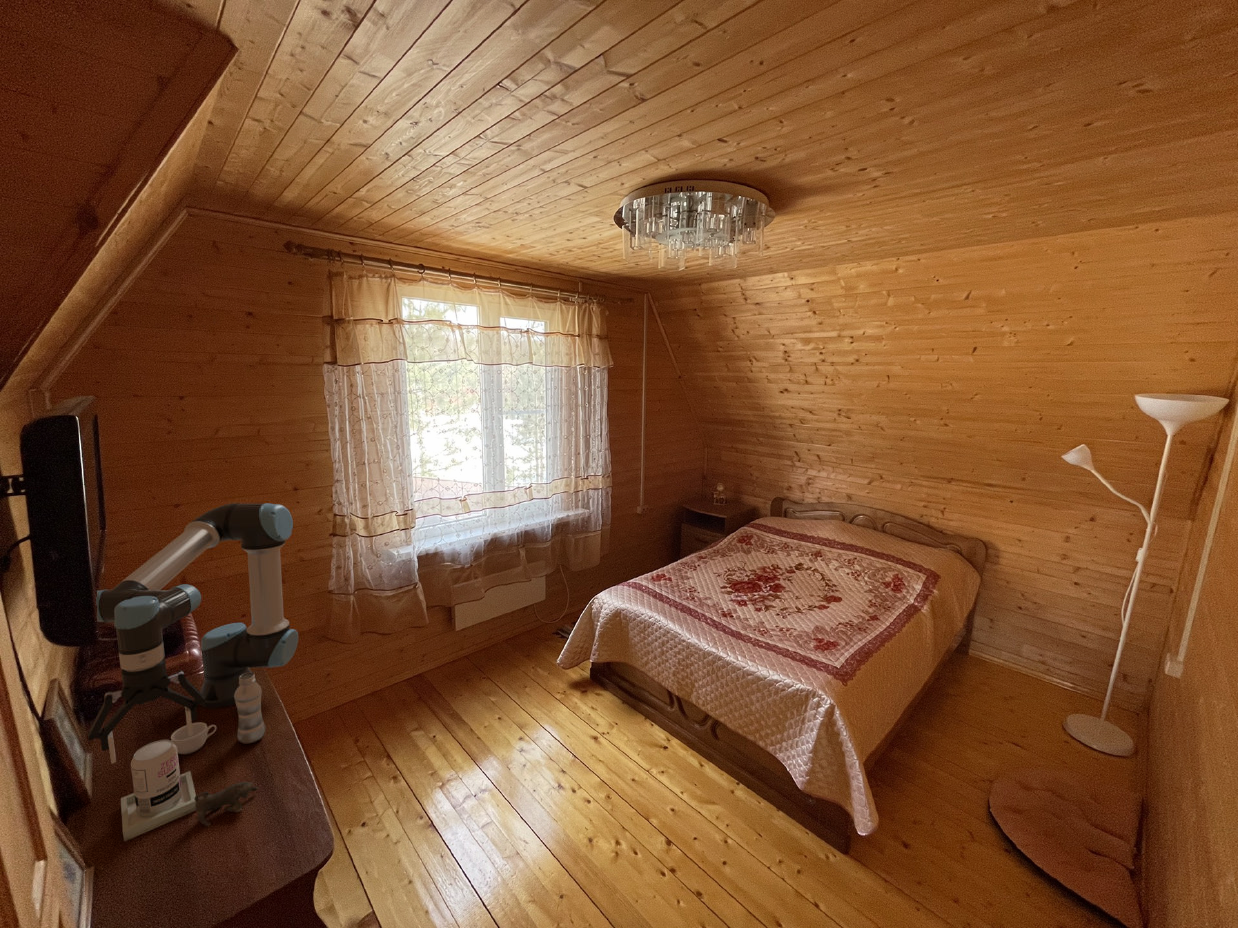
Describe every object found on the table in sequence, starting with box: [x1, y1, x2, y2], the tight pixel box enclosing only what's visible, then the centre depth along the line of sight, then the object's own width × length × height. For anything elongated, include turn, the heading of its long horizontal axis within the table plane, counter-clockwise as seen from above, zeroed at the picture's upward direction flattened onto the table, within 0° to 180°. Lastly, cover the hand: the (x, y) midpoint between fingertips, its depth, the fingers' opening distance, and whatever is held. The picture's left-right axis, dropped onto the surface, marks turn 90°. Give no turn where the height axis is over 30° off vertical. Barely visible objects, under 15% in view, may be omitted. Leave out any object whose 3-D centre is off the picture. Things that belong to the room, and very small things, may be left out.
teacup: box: [170, 721, 217, 755], centre depth 145 cm, size 10×8×5 cm
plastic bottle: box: [234, 672, 266, 745], centre depth 147 cm, size 6×7×20 cm
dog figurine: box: [194, 781, 258, 827], centre depth 124 cm, size 12×6×7 cm, turn 128°
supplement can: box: [130, 739, 182, 817], centre depth 123 cm, size 8×8×15 cm
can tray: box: [120, 770, 197, 843], centre depth 124 cm, size 13×13×2 cm
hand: (153, 745), depth 122 cm, fingers open, 13 cm apart
